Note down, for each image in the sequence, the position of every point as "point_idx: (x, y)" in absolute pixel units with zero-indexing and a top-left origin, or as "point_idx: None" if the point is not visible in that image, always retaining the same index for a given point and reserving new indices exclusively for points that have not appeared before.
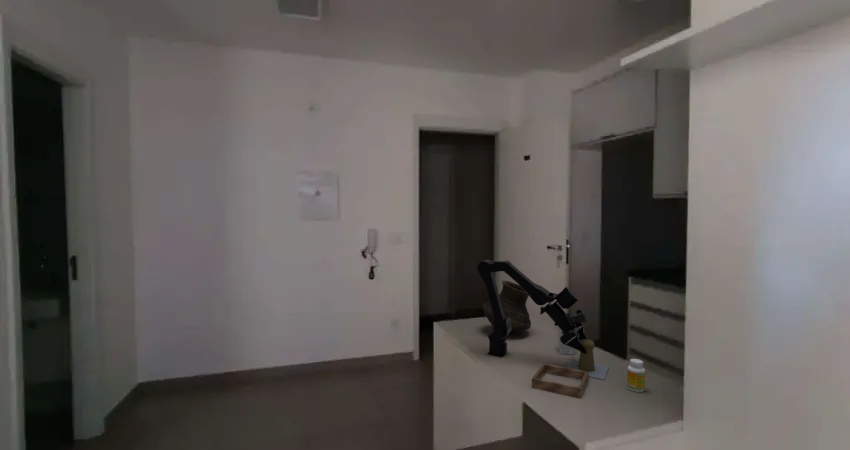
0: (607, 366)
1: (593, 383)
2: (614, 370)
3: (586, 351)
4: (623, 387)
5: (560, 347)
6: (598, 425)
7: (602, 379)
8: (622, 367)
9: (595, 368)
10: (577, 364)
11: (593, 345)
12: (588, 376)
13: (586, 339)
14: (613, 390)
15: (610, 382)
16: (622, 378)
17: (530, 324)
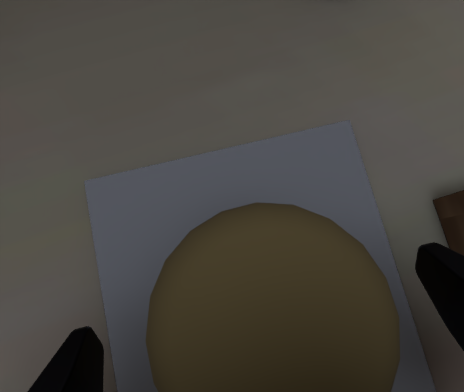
0: (92, 187)
1: (451, 157)
2: (119, 135)
3: (444, 248)
4: (363, 9)
5: None
6: None
7: (352, 133)
8: (24, 114)
9: None
10: None
11: (280, 205)
12: (448, 195)
13: (248, 369)
14: (453, 35)
15: (348, 86)
16: (226, 55)
17: None
